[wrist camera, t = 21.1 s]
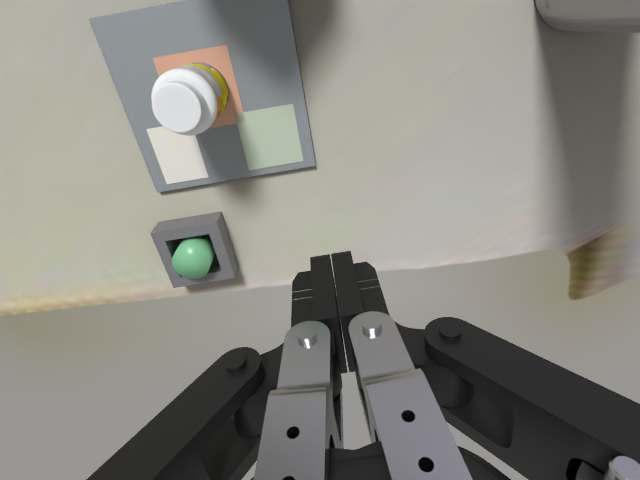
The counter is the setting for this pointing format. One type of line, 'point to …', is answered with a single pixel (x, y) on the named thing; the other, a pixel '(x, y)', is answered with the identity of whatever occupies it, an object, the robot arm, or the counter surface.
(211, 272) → the button housing
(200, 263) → the button
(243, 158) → the sheet board
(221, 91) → the supplement bottle
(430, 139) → the counter surface
